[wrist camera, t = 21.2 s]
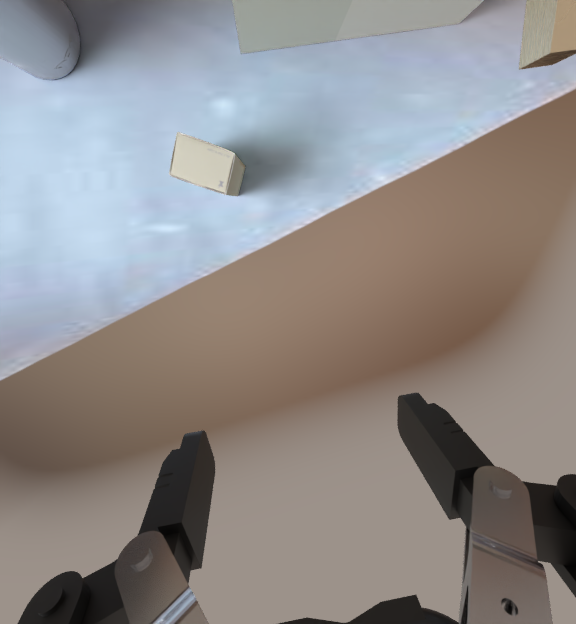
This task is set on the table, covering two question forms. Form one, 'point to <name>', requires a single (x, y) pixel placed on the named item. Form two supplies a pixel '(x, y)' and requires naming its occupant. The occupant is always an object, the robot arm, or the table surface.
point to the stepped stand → (337, 19)
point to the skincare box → (206, 165)
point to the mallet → (548, 32)
